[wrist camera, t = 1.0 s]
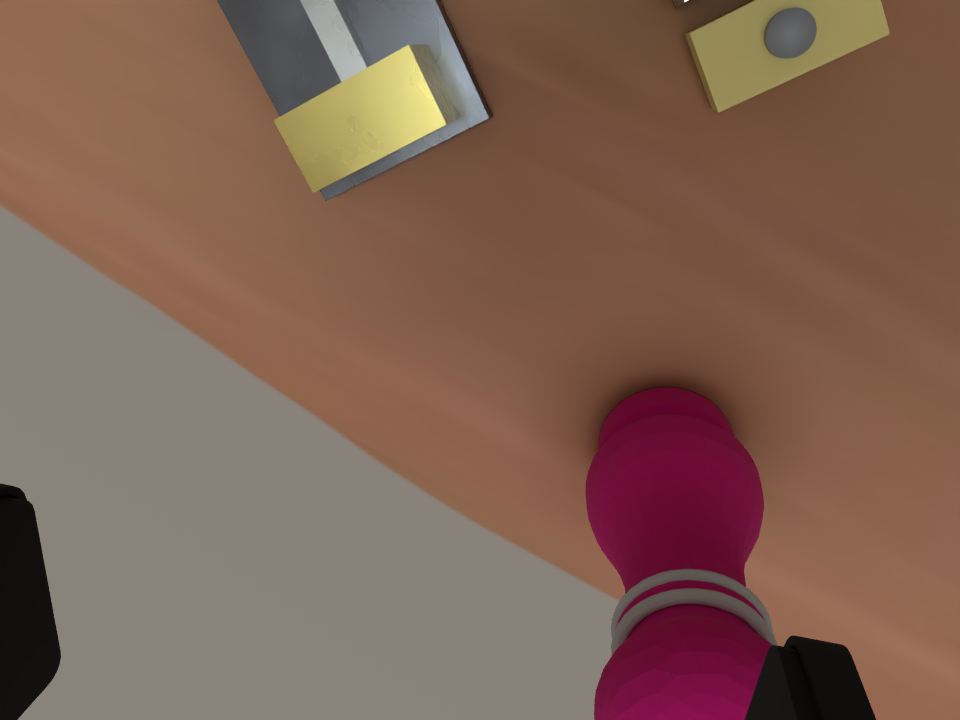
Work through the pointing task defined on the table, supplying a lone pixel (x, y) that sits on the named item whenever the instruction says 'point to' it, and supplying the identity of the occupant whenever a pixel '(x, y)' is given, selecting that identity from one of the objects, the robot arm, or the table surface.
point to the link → (679, 2)
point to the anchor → (778, 43)
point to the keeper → (358, 81)
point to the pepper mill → (678, 560)
